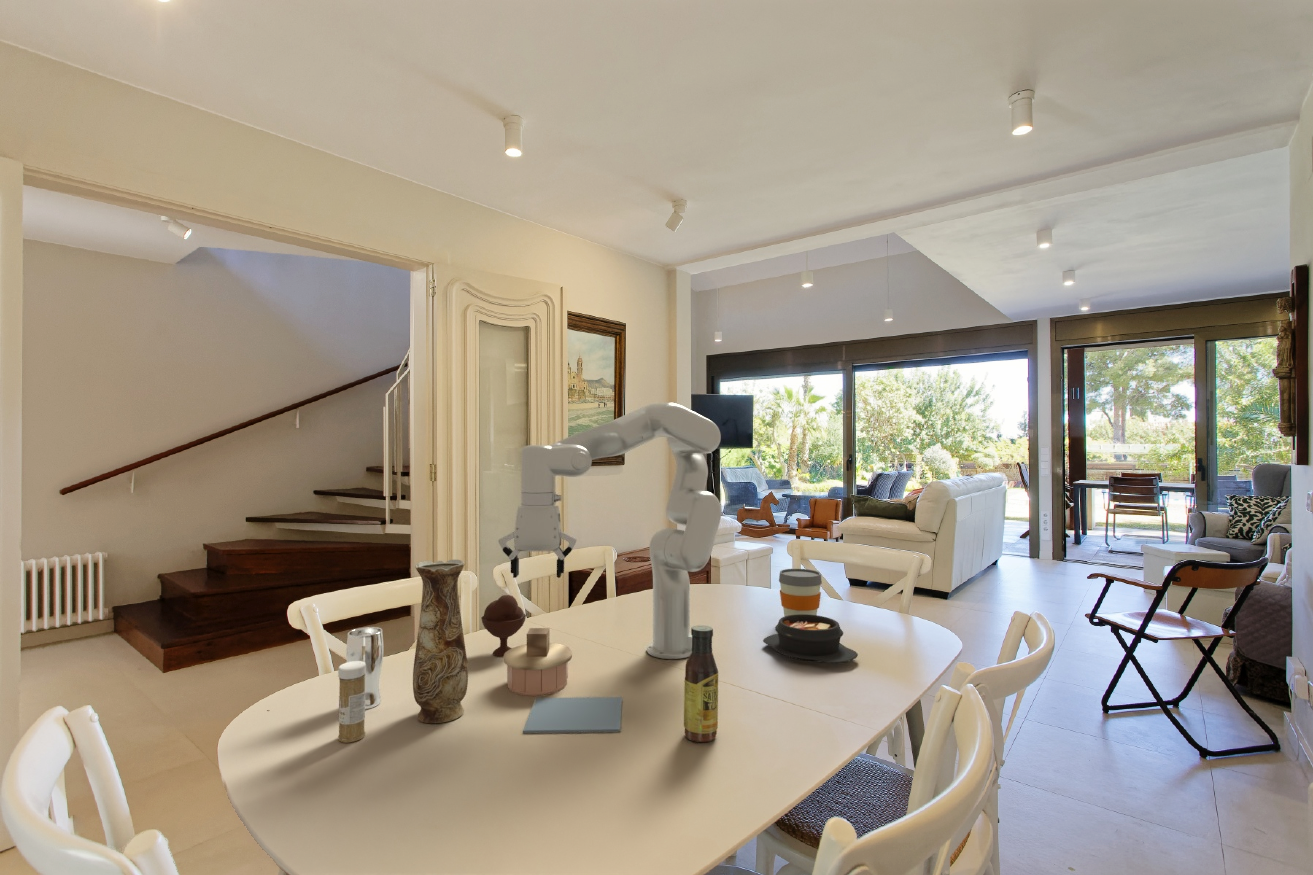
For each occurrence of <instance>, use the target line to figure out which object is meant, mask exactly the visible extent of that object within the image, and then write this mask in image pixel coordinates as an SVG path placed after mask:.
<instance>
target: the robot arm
mask: <svg viewBox="0 0 1313 875" xmlns="http://www.w3.org/2000/svg"><path fill="white" fill-rule="evenodd" d="M721 436H722V434H721V431H720V428H719V426H718V425H717V424H716V423H715V422H714V421H712V420H710V419H709V418H707V417H705V416H704V415H701V414H699V413H697V412H696V411H693V410H690V409H689V408H687V407H685V406H683V405H681V404H677V403H674V402H661V403H651V404H648V405H644V406H642V407H640V408H638V409H636V410H633V411H632V412H629V413H627V414H625V415H622V416H620V417H618V418H616V419H612V420H611V421H609V422H605V423H602V424H599V425H597V426H595V427H592V428H589V429H586V430H583V431H580V432H578V433H574V434H572V435H570V436H567V437H565V438H563V439H561V440H558V441H556V442H554V443H552V444H551V445H547V444H546V445H545V444H544V445H543V444H531V445H530V444H529V445H524V446H523V447H522V449H521V456H520V457H521V461H520V463H521V466H520V468H521V470H520V472H521V474H520V477H521V479H520V480H521V481H520V487H521V488H520V490H521V492H520V505H518V507H517V509H516V511H517V512H516V516H515V526H514V531H513V532H511V533H508V534H507V535H504V536H503V537H501V538H499V539H498V540H497V541H498V544H499V546H500V548H501V549H502V553H504V555H506V556H507V557H508V559H509V560H510V574H512V578H513V579H515V578H517V577H518V576H519V575H520V558H519V557H518V555H519V554H520V553H521V552H553V553H554V554H555V555H556V556H557V559H556V578H558V579H560V578H561V576H562V574H564V573H565V558H566V557H567V556H568V555H569V554H571V552H572V551H573V549H574V547H575V545H576V543H577V538H576V537H573V536H571V535H570V534H568V533H565V532H564V531H562V522H561V511H560V507H559V505H556V504H557V502H562V494H558V493H556V477H557V476H558V477H559V476H560V477H565V478H567V477H568V478H578V477H581V476H584V475H585V474H586V473H587V472H588V471H589V470H590V469H591V467H592V463H593V461H592V460H596V459H601V458H602V459H603V458H608V457H609V458H610V457H615V456H619V455H624V454H627V453H628V452H631V451H632V450H634V449H636V448H639V447H641V446H642V445H645V444H646V443H649V442H650V441H653V440H655V439H657V438H665V439H666V442H667V445H668V447H669V449H670V451H671V452H672V454H673V456H674V459H675V463H676V465H675V466H676V467H675V468H676V470H675V473H674V474H675V475H674V479H673V482H672V486H671V490H670V492H669V496H668V499H667V502H666V508H665V513H666V514H665V515H666V517H667V519H668V520H669V522H672V523H673V524H676V525H678V526H685V529H684V530H683V529H677V528H672V527H671V528H670V527H667V528H662V529H659V530H657V531H656V532H655V533H654V534H653V535H652V537H651V540H649V541H650V542H649V559H650V563H651V564H650V565H651V571H652V641H651V642H650V643H648V645H647V646H646V652H647V654H648V655H650V656H651V657H655V658H658V659H659V658H660V659H667V660H679V659H685V658H689V656H690V655H691V653H692V635H691V629H690V627H691V626H690V620H691V619H690V618H691V617H690V616H691V615H690V613H691V612H690V606H691V604H690V603H691V602H690V601H691V597H690V596H691V592H690V591H691V588H690V587H691V584H690V583H691V582H690V576H689V572H692V573H693V572H694V573H695V572H698V571H701V570H702V569H704V568H705V566H706V565H707V563H708V562H709V560H710V557H711V555H712V552H713V549H714V545H715V542H716V538H717V533H718V530H719V526H720V523H721V519H722V507H721V503H720V501H719V499H718V497H717V496H716V495H715V493H712V492H710V491H708V490H706V485H707V482H708V481H707V480H708V476H709V467H708V464H707V460H706V458H705V455H704V454H710V453H712V452H714V451H716V449H718V447H719V445H720V443H721V440H722V439H721V438H722V437H721ZM511 540H513V546H514V550H512V549H511V547H510V546H509V545H508V541H511ZM562 540H564V541H565V542H567V543H568V544H567V547H566V548H565V549H564V550H563V549H562V547H561V546H562Z"/></svg>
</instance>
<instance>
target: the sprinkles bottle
mask: <svg viewBox="0 0 1313 875" xmlns="http://www.w3.org/2000/svg"><path fill="white" fill-rule="evenodd" d="M337 672H338V674H337V675H338V680H339V693H338V694H339V696H338V722H339V723H338V736H337V737H338V738H337V739H338V741H339V742H341V743H347V744H348V743H349V744H350V743H354V742H356V741H360V740H361V739H363V738H364V737H365V736H366V731H365V719H366V710H365V673H366V664H365V663H364V662H362V661H352V662H347V661H346V662H345V663H342V664H340V665H339V666H338V671H337Z"/></svg>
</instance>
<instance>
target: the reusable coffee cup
mask: <svg viewBox="0 0 1313 875" xmlns="http://www.w3.org/2000/svg"><path fill="white" fill-rule="evenodd" d="M778 582H779V584H780V590H779V595H780V596H779V597H780V603H781V607H782V608H783V609H782V610H783V614H784V616H783V617H785V616H789V615H798V614H807V615H817V614H818V610H819V608H820V604H821V603H820V602H821V596H822V594H821V593H822V592H821V585H822V584H823V581H822V574H821V572H820V571H818V570H813V569H807V568H787V569H786V568H785V569H781V570H780V571H779V577H778ZM817 616H818V615H817Z"/></svg>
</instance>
